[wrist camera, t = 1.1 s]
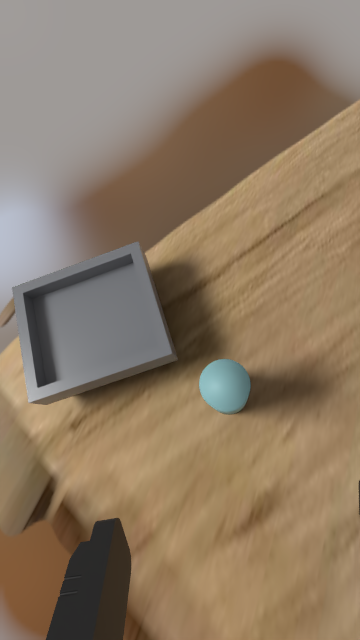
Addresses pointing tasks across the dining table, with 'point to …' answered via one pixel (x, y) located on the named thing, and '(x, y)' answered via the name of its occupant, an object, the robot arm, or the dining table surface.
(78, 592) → the robot arm
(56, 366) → the grey square tray
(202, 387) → the teal cylinder
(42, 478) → the dining table surface
